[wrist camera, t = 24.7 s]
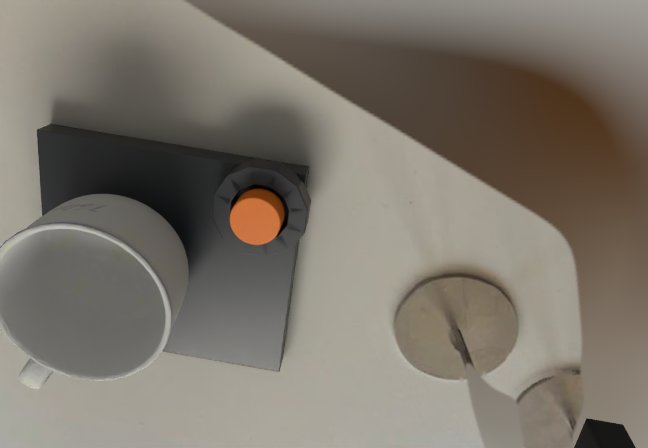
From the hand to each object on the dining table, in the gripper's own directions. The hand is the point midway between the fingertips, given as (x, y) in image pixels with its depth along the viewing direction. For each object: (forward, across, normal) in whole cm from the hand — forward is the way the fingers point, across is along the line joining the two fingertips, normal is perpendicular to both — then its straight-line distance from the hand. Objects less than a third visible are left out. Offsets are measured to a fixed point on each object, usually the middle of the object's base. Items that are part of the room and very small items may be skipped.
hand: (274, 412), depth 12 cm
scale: (+27, -11, -11) cm, 31 cm away
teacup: (+25, -15, -12) cm, 31 cm away
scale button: (+23, -5, -5) cm, 24 cm away
